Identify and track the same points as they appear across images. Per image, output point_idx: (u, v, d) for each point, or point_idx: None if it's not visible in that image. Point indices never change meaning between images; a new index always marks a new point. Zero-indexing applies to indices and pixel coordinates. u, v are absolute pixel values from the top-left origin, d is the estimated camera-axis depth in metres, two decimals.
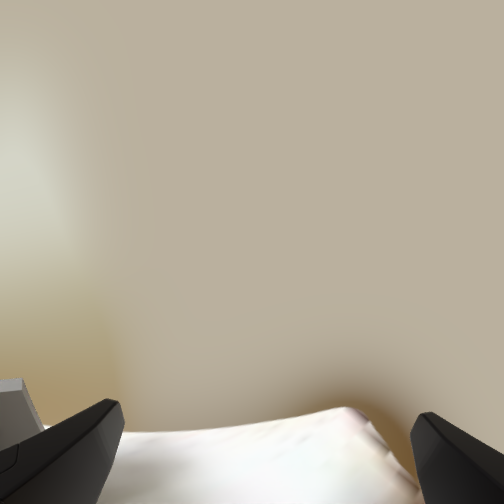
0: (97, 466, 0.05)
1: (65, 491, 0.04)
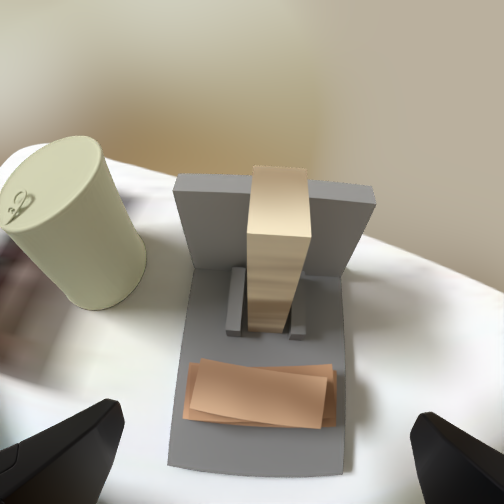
0: (97, 466, 0.05)
1: (65, 491, 0.04)
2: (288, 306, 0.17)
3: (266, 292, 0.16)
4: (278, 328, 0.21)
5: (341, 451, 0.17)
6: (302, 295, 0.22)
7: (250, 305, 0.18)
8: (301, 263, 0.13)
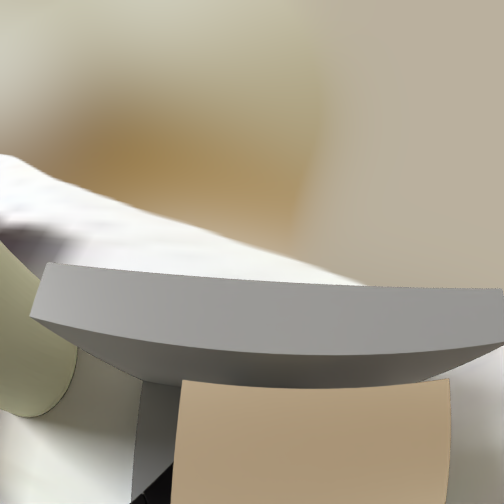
0: None
1: None
2: None
3: None
4: None
5: None
6: None
7: None
8: None
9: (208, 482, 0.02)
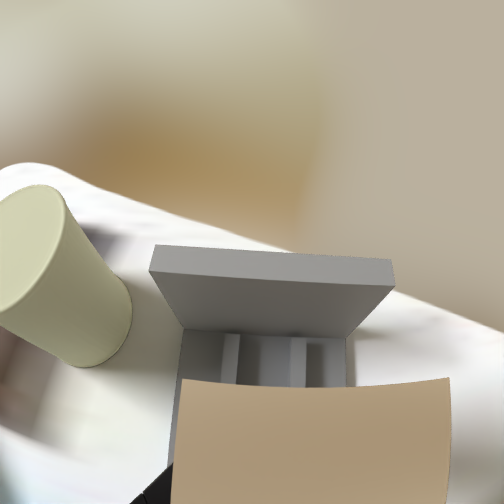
0: None
1: None
2: None
3: None
4: None
5: None
6: (302, 367, 0.19)
7: None
8: None
9: (208, 481, 0.02)
